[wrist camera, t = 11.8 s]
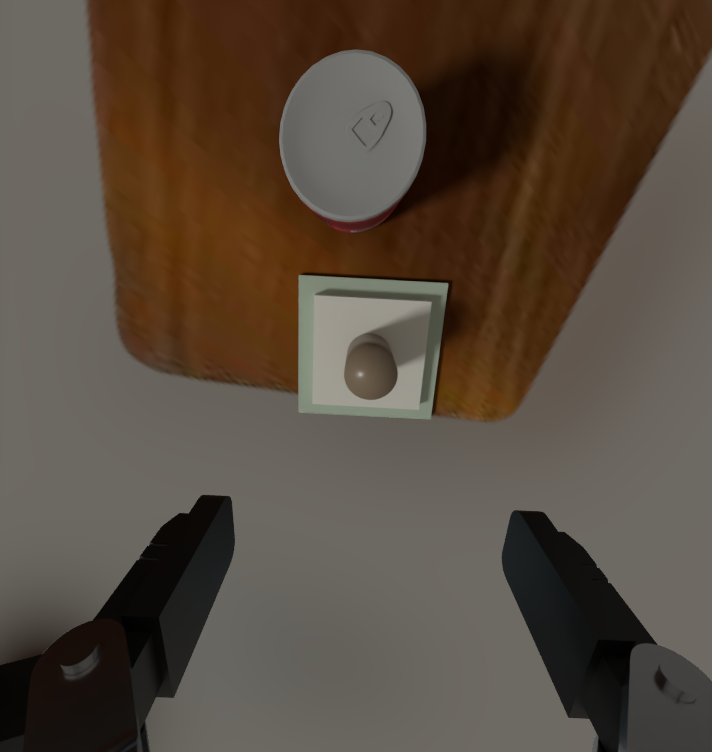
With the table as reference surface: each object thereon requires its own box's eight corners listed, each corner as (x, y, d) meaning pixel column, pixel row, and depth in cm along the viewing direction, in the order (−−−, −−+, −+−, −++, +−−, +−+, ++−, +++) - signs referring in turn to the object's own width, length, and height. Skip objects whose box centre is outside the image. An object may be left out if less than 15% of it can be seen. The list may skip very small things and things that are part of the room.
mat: (299, 274, 31) (298, 274, 31) (447, 282, 31) (448, 283, 31) (299, 410, 35) (298, 412, 35) (429, 417, 35) (430, 419, 35)
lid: (315, 293, 31) (304, 303, 25) (429, 300, 31) (447, 311, 25) (313, 399, 34) (303, 431, 28) (416, 404, 34) (429, 438, 28)
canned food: (421, 162, 28) (457, 106, 18) (369, 252, 31) (374, 249, 20) (339, 103, 27) (326, 7, 17) (290, 202, 29) (252, 171, 19)
